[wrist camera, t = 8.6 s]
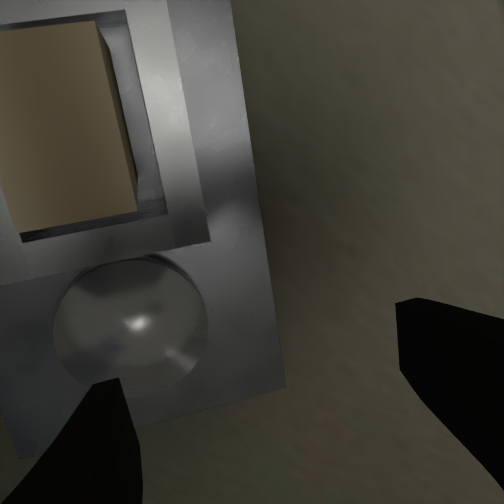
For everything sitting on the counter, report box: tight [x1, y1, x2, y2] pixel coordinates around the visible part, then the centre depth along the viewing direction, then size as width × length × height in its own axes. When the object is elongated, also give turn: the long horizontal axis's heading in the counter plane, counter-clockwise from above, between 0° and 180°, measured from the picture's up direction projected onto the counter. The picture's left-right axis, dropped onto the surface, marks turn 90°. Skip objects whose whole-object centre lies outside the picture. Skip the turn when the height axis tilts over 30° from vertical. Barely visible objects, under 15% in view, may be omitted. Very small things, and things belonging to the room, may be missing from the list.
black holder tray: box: [0, 0, 286, 459], centre depth 17 cm, size 12×20×4 cm, turn 8°
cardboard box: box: [0, 21, 138, 234], centre depth 14 cm, size 3×4×6 cm, turn 8°
